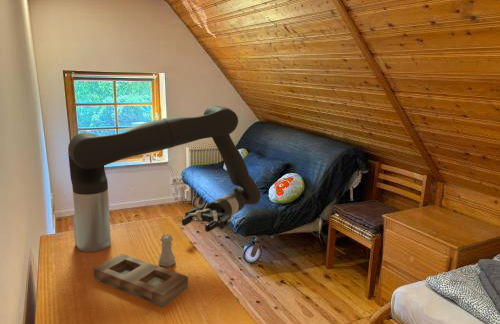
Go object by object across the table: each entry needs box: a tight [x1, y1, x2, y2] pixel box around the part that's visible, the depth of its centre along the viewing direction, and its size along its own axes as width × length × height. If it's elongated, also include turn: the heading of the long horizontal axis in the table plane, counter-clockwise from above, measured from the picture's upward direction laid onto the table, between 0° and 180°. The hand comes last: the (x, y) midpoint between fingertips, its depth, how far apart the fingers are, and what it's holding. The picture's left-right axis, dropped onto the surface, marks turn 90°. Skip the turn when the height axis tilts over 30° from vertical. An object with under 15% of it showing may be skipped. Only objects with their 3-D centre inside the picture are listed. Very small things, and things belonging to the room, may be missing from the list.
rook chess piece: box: [158, 233, 176, 268], centre depth 99 cm, size 4×4×8 cm
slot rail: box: [93, 253, 189, 308], centre depth 89 cm, size 22×9×3 cm, turn 62°
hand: (194, 225), depth 109 cm, fingers open, 8 cm apart
